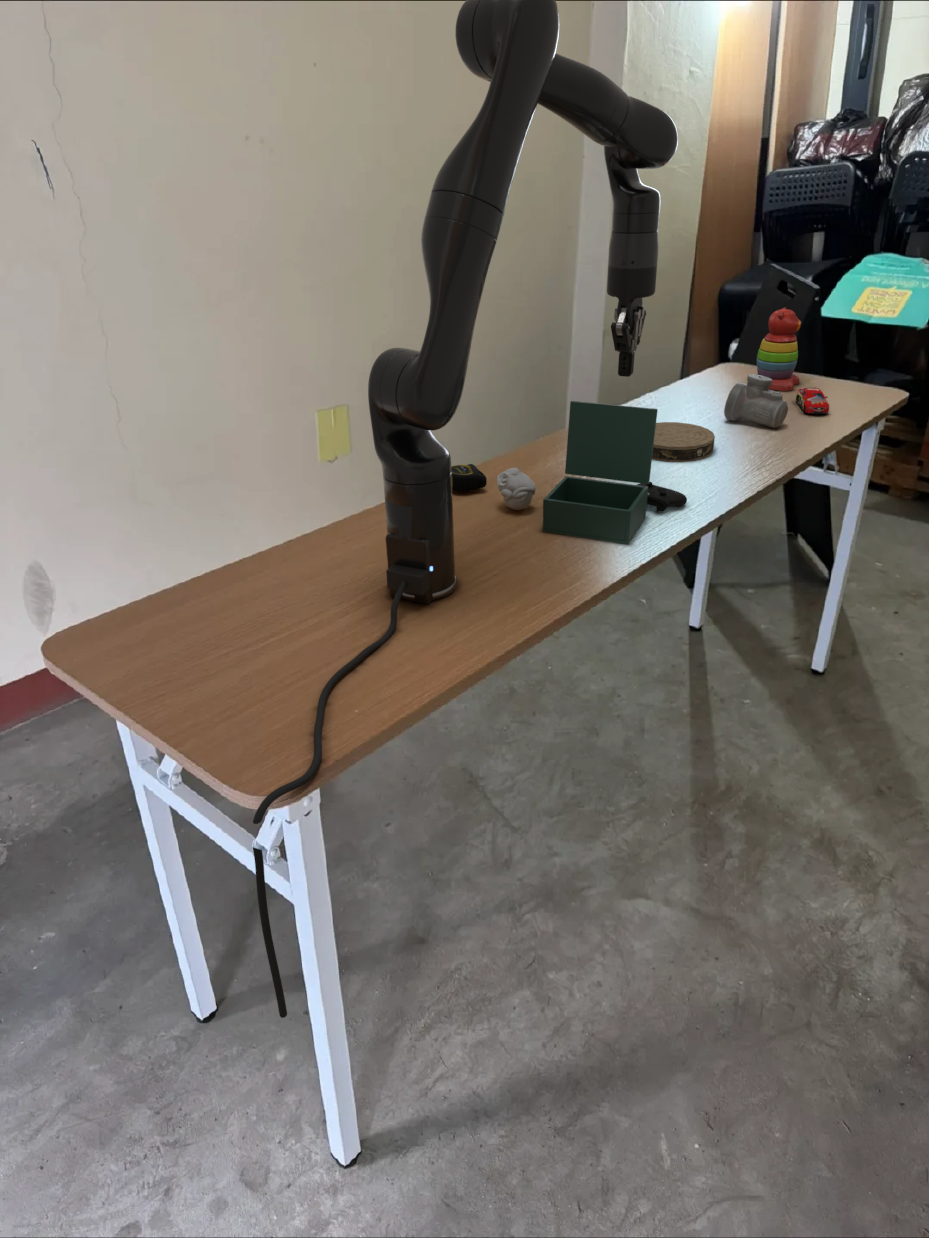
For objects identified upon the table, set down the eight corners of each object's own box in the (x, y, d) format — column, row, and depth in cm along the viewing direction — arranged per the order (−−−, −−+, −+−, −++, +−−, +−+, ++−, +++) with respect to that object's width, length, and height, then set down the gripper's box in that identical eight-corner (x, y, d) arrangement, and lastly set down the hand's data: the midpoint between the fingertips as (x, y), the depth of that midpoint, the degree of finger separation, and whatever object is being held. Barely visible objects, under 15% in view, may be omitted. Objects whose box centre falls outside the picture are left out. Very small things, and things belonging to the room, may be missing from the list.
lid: (656, 409, 136) (657, 408, 136) (570, 401, 141) (571, 400, 142) (648, 484, 140) (649, 483, 141) (564, 473, 146) (566, 473, 146)
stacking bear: (790, 392, 207) (803, 314, 198) (748, 387, 211) (758, 311, 202) (800, 381, 215) (813, 306, 206) (759, 377, 219) (769, 304, 210)
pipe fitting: (718, 420, 187) (730, 373, 182) (734, 415, 192) (747, 369, 187) (769, 437, 181) (784, 389, 175) (785, 431, 186) (800, 384, 181)
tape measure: (488, 493, 156) (488, 473, 154) (451, 498, 154) (451, 478, 152) (476, 480, 161) (475, 461, 159) (440, 485, 160) (440, 465, 158)
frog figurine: (509, 498, 153) (509, 461, 149) (543, 506, 149) (543, 468, 146) (489, 510, 149) (489, 471, 145) (524, 518, 145) (524, 479, 141)
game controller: (690, 499, 148) (680, 483, 143) (677, 526, 147) (665, 511, 142) (642, 486, 154) (630, 470, 149) (629, 512, 153) (616, 497, 148)
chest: (628, 544, 135) (630, 511, 132) (542, 531, 140) (543, 499, 137) (645, 518, 144) (648, 486, 141) (564, 506, 149) (565, 476, 146)
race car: (830, 417, 189) (833, 399, 187) (804, 416, 190) (807, 398, 188) (818, 400, 200) (821, 383, 198) (793, 399, 201) (796, 382, 199)
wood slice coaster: (701, 434, 181) (702, 420, 179) (722, 460, 167) (724, 445, 165) (625, 437, 180) (626, 423, 179) (640, 463, 167) (642, 448, 165)
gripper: (646, 270, 127) (637, 387, 136) (666, 257, 138) (657, 367, 146) (596, 268, 130) (591, 383, 139) (620, 256, 140) (614, 364, 149)
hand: (625, 375), depth 142 cm, fingers closed
